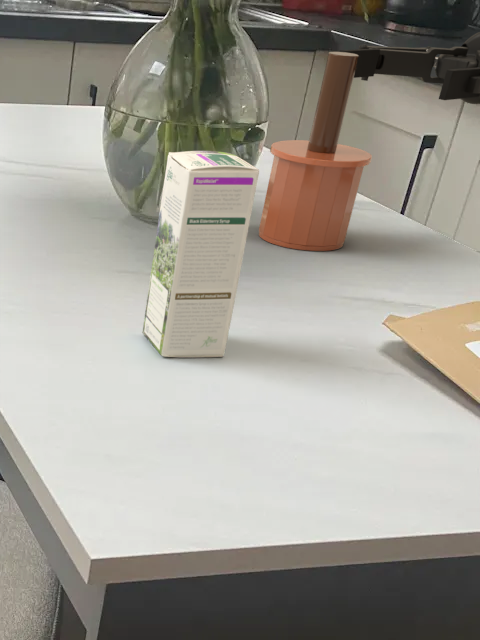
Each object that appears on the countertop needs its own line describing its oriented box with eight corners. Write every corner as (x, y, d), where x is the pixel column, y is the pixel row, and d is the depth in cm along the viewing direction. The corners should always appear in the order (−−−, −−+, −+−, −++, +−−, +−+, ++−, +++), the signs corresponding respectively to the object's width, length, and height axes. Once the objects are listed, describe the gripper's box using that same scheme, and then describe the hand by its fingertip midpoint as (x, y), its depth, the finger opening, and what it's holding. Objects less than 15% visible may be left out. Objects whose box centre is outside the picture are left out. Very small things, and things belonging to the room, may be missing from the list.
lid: (257, 149, 119) (278, 44, 113) (350, 154, 120) (376, 49, 113) (284, 171, 111) (308, 58, 104) (383, 176, 111) (413, 64, 105)
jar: (249, 225, 123) (265, 145, 118) (328, 229, 124) (348, 149, 119) (271, 249, 116) (289, 164, 111) (355, 252, 116) (377, 168, 111)
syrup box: (226, 358, 88) (265, 167, 79) (158, 358, 87) (190, 165, 78) (203, 333, 93) (238, 150, 84) (137, 334, 92) (166, 148, 83)
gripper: (585, 121, 121) (482, 135, 110) (398, 84, 136) (291, 93, 125) (613, 45, 116) (508, 51, 105) (416, 15, 131) (307, 18, 121)
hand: (390, 74), depth 115 cm, fingers open, 13 cm apart
